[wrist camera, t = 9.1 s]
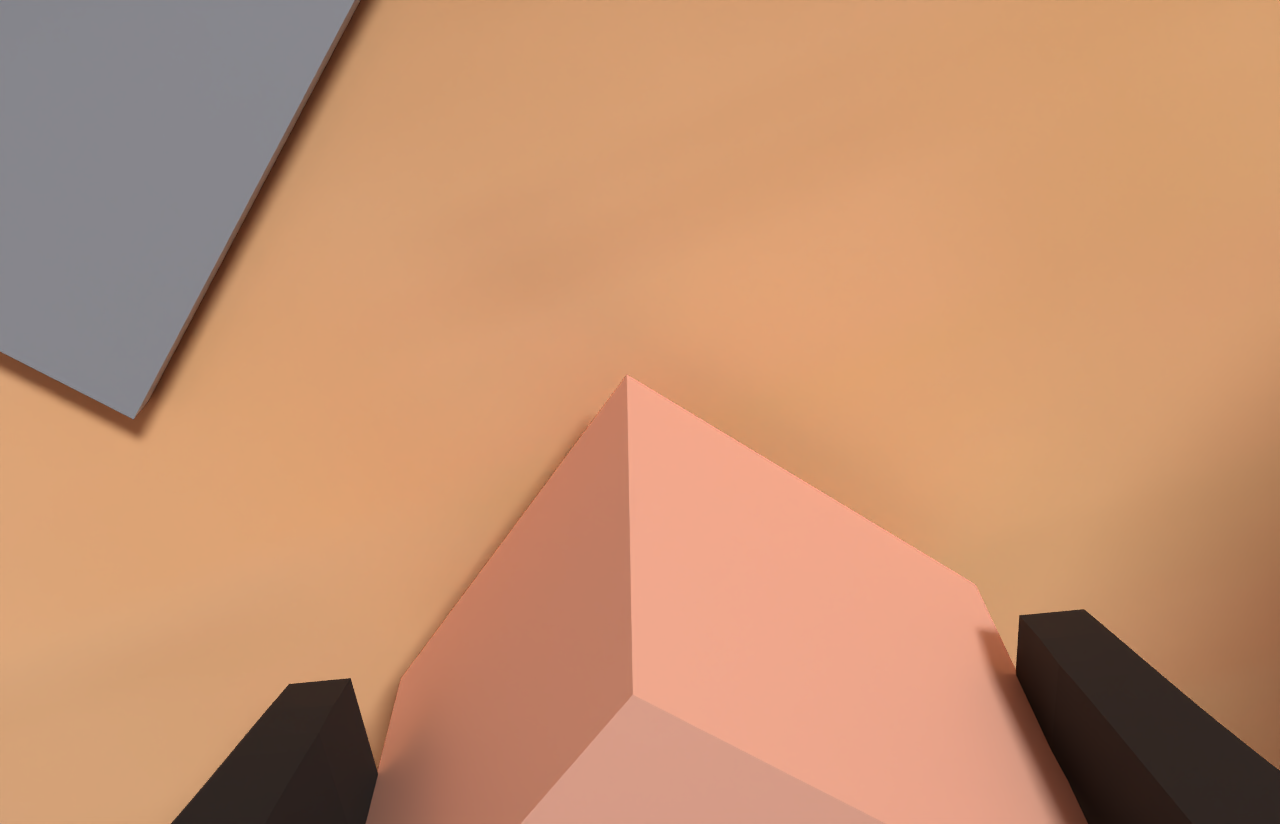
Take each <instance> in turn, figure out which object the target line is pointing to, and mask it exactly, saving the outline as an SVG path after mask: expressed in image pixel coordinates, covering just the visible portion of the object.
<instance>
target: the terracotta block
mask: <svg viewBox="0 0 1280 824" xmlns="http://www.w3.org/2000/svg"><path fill="white" fill-rule="evenodd" d="M366 824H1088V823H1087V821H1086V818H1085V816H1084V814H1083V812H1082V810H1081V808H1080V806H1079V803H1078V801H1077V799H1076V797H1075V795H1074V793H1073V791H1072V789H1071V786H1070V784H1069V782H1068V780H1067V778H1066V776H1065V775H1064V773H1063V771H1062V769H1061V767H1060V765H1059V764H1058V762H1057V760H1056V758H1055V756H1054V755H1053V753H1052V751H1051V749H1050V747H1049V744H1048V742H1047V740H1046V738H1045V736H1044V734H1043V732H1042V729H1041V727H1040V725H1039V723H1038V721H1037V719H1036V717H1035V714H1034V712H1033V710H1032V708H1031V706H1030V704H1029V702H1028V700H1027V697H1026V695H1025V693H1024V691H1023V689H1022V687H1021V685H1020V682H1019V680H1018V678H1017V676H1016V669H1015V667H1014V665H1013V663H1012V661H1011V659H1010V657H1009V654H1008V652H1007V650H1006V648H1005V646H1004V644H1003V642H1002V639H1001V637H1000V635H999V633H998V631H997V629H996V627H995V625H994V622H993V620H992V618H991V616H990V614H989V612H988V610H987V608H986V605H985V603H984V601H983V599H982V597H981V595H980V593H979V591H978V588H977V586H976V584H974V583H972V582H971V581H969V580H967V579H966V578H964V577H962V576H961V575H959V574H957V573H956V572H954V571H952V570H951V569H949V568H947V567H946V566H944V565H942V564H941V563H939V562H937V561H936V560H934V559H932V558H931V557H929V556H927V555H926V554H924V553H922V552H921V551H919V550H918V549H916V548H914V547H913V546H911V545H909V544H908V543H906V542H904V541H903V540H901V539H899V538H898V537H896V536H894V535H893V534H891V533H889V532H888V531H886V530H884V529H883V528H881V527H879V526H878V525H876V524H874V523H873V522H871V521H869V520H868V519H866V518H864V517H863V516H861V515H859V514H858V513H856V512H854V511H853V510H851V509H849V508H848V507H846V506H844V505H843V504H841V503H839V502H838V501H836V500H835V499H833V498H831V497H830V496H828V495H826V494H825V493H823V492H821V491H820V490H818V489H816V488H815V487H813V486H811V485H810V484H808V483H806V482H805V481H803V480H801V479H800V478H798V477H796V476H795V475H793V474H791V473H790V472H788V471H786V470H785V469H783V468H781V467H780V466H778V465H776V464H775V463H773V462H771V461H770V460H768V459H766V458H765V457H763V456H761V455H760V454H758V453H757V452H755V451H753V450H752V449H750V448H748V447H747V446H745V445H743V444H742V443H740V442H738V441H737V440H735V439H733V438H732V437H730V436H728V435H727V434H725V433H723V432H722V431H720V430H718V429H717V428H715V427H713V426H712V425H710V424H708V423H707V422H705V421H703V420H702V419H700V418H698V417H697V416H695V415H693V414H692V413H690V412H688V411H687V410H685V409H683V408H682V407H680V406H678V405H677V404H675V403H674V402H672V401H670V400H669V399H667V398H665V397H664V396H662V395H660V394H659V393H657V392H655V391H654V390H652V389H650V388H649V387H647V386H645V385H644V384H642V383H640V382H639V381H637V380H635V379H634V378H632V377H630V376H629V375H626V376H625V378H624V379H623V380H622V382H621V383H620V384H619V386H618V387H617V388H616V390H615V391H614V392H613V394H612V395H611V396H610V398H609V399H608V400H607V402H606V403H605V404H604V406H603V407H602V408H601V410H600V411H599V413H598V414H597V415H596V417H595V418H594V419H593V421H592V422H591V423H590V425H589V426H588V427H587V429H586V430H585V431H584V433H583V434H582V435H581V437H580V438H579V439H578V441H577V442H576V443H575V445H574V446H573V448H572V449H571V450H570V452H569V453H568V454H567V456H566V457H565V458H564V460H563V461H562V462H561V464H560V465H559V466H558V468H557V469H556V470H555V472H554V473H553V474H552V476H551V477H550V478H549V480H548V481H547V482H546V484H545V485H544V487H543V488H542V489H541V491H540V492H539V493H538V495H537V496H536V497H535V499H534V500H533V501H532V503H531V504H530V505H529V507H528V508H527V509H526V511H525V512H524V513H523V515H522V516H521V517H520V519H519V520H518V521H517V523H516V524H515V526H514V527H513V528H512V530H511V531H510V532H509V534H508V535H507V536H506V538H505V539H504V540H503V542H502V543H501V544H500V546H499V547H498V548H497V550H496V551H495V552H494V554H493V555H492V556H491V558H490V559H489V560H488V562H487V563H486V565H485V566H484V567H483V569H482V570H481V571H480V573H479V574H478V575H477V577H476V578H475V579H474V581H473V582H472V583H471V585H470V586H469V587H468V589H467V590H466V591H465V593H464V594H463V595H462V597H461V598H460V599H459V601H458V602H457V604H456V605H455V606H454V608H453V609H452V610H451V612H450V613H449V614H448V616H447V617H446V618H445V620H444V621H443V622H442V624H441V625H440V626H439V628H438V629H437V630H436V632H435V633H434V634H433V636H432V637H431V638H430V640H429V641H428V643H427V644H426V645H425V647H424V648H423V649H422V651H421V652H420V653H419V655H418V656H417V657H416V659H415V660H414V661H413V663H412V664H411V665H410V667H409V668H408V669H407V671H406V672H405V673H404V675H403V676H402V677H401V680H400V684H399V688H398V692H397V696H396V700H395V704H394V708H393V712H392V716H391V720H390V724H389V728H388V732H387V736H386V740H385V744H384V748H383V752H382V756H381V760H380V764H379V768H378V777H377V781H376V785H375V789H374V793H373V797H372V801H371V805H370V809H369V813H368V817H367V821H366Z"/></svg>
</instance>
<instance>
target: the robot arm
mask: <svg viewBox="0 0 1280 824" xmlns="http://www.w3.org/2000/svg"><path fill="white" fill-rule="evenodd" d="M1016 676H1017V678H1018V680H1019V682H1020V685H1021V687H1022V689H1023V691H1024V693H1025V695H1026V697H1027V700H1028V702H1029V704H1030V706H1031V708H1032V710H1033V712H1034V714H1035V717H1036V719H1037V721H1038V723H1039V725H1040V727H1041V729H1042V732H1043V734H1044V736H1045V738H1046V740H1047V742H1048V744H1049V747H1050V749H1051V751H1052V753H1053V755H1054V756H1055V758H1056V760H1057V762H1058V764H1059V765H1060V767H1061V769H1062V771H1063V773H1064V775H1065V776H1066V778H1067V780H1068V782H1069V784H1070V786H1071V789H1072V791H1073V793H1074V795H1075V797H1076V799H1077V801H1078V803H1079V806H1080V808H1081V810H1082V812H1083V814H1084V816H1085V818H1086V821H1087V823H1088V824H1280V771H1279V770H1278V769H1277V768H1275V767H1274V766H1273V765H1271V764H1270V763H1269V762H1268V761H1266V760H1265V759H1264V758H1263V757H1261V756H1260V755H1259V754H1258V753H1256V752H1255V751H1254V750H1253V749H1251V748H1250V747H1249V746H1247V745H1246V744H1245V743H1244V742H1242V741H1241V740H1240V739H1239V738H1237V737H1236V736H1235V735H1234V734H1232V733H1231V732H1230V731H1229V730H1227V729H1226V728H1225V727H1223V726H1222V725H1221V724H1220V723H1219V722H1217V721H1216V720H1215V719H1214V718H1212V717H1211V716H1210V715H1209V714H1208V713H1206V712H1205V711H1204V710H1203V709H1202V708H1200V707H1199V706H1198V705H1197V704H1195V703H1194V702H1193V701H1192V700H1191V699H1190V698H1188V697H1187V696H1186V695H1185V694H1184V693H1182V692H1181V691H1180V690H1179V689H1178V688H1176V687H1175V686H1174V685H1173V684H1172V683H1170V682H1169V681H1168V680H1167V679H1166V678H1164V677H1163V676H1162V675H1161V674H1160V673H1159V672H1157V671H1156V670H1155V669H1154V668H1153V667H1152V666H1150V665H1149V664H1148V663H1147V662H1146V661H1144V660H1143V659H1142V658H1141V657H1140V656H1139V655H1137V654H1136V653H1135V652H1134V651H1133V650H1132V649H1130V648H1129V647H1128V646H1127V645H1126V644H1125V643H1123V642H1122V641H1121V640H1120V639H1119V638H1117V637H1116V636H1115V635H1114V634H1113V633H1112V632H1110V631H1109V630H1108V629H1107V628H1106V627H1104V626H1103V625H1102V624H1101V623H1100V622H1099V621H1097V620H1096V619H1095V618H1094V617H1093V616H1091V615H1090V614H1089V613H1088V612H1087V611H1085V610H1084V609H1083V610H1072V611H1062V612H1051V613H1040V614H1030V615H1019V631H1018V646H1017V662H1016ZM377 777H378V772H377V769H376V765H375V762H374V758H373V755H372V751H371V748H370V744H369V741H368V737H367V734H366V730H365V727H364V723H363V720H362V716H361V713H360V709H359V706H358V703H357V699H356V696H355V692H354V689H353V685H352V682H351V678H349V679H338V680H328V681H317V682H306V683H296V684H289V685H288V686H287V687H286V688H285V690H284V691H283V692H282V693H281V694H280V695H279V697H278V698H277V699H276V700H275V701H274V702H273V703H272V705H271V706H270V707H269V708H268V709H267V710H266V712H265V713H264V714H263V715H262V716H261V717H260V719H259V720H258V721H257V722H256V723H255V725H254V726H253V727H252V728H251V729H250V731H249V732H248V733H247V734H246V735H245V737H244V738H243V739H242V740H241V741H240V743H239V744H238V745H237V746H236V747H235V749H234V750H233V751H232V752H231V753H230V755H229V756H228V757H227V758H226V760H225V761H224V762H223V763H222V764H221V765H220V767H219V768H218V769H217V770H216V771H215V773H214V774H213V775H212V776H211V777H210V779H209V780H208V781H207V782H206V783H205V785H204V786H203V787H202V788H201V789H200V791H199V792H198V793H197V794H196V795H195V797H194V798H193V799H192V800H191V801H190V802H189V803H188V805H187V806H186V807H185V808H184V809H183V810H182V812H181V813H180V814H179V815H178V816H177V817H176V818H175V820H174V821H173V822H172V823H171V824H366V821H367V817H368V813H369V809H370V805H371V801H372V797H373V793H374V789H375V785H376V781H377Z"/></svg>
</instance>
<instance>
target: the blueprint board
mask: <svg viewBox="0 0 1280 824" xmlns="http://www.w3.org/2000/svg"><path fill="white" fill-rule="evenodd" d="M359 2H360V0H0V352H2V353H4V354H6V355H8V356H10V357H12V358H14V359H16V360H18V361H20V362H22V363H24V364H26V365H27V366H29V367H31V368H33V369H35V370H37V371H39V372H41V373H43V374H45V375H47V376H49V377H51V378H53V379H55V380H57V381H59V382H61V383H63V384H65V385H67V386H69V387H71V388H73V389H75V390H77V391H79V392H81V393H83V394H85V395H87V396H89V397H90V398H92V399H94V400H96V401H98V402H100V403H102V404H104V405H106V406H108V407H110V408H112V409H114V410H116V411H118V412H120V413H122V414H124V415H126V416H128V417H130V418H132V419H134V418H135V417H136V416H137V415H138V413H139V412H140V411H141V410H142V408H143V407H144V406H145V405H146V403H147V402H148V401H149V399H150V397H151V395H152V393H153V391H154V389H155V387H156V386H157V384H158V382H159V380H160V378H161V376H162V374H163V372H164V370H165V369H166V367H167V365H168V363H169V361H170V359H171V357H172V355H173V353H174V352H175V350H176V348H177V346H178V344H179V342H180V340H181V338H182V336H183V335H184V333H185V331H186V329H187V327H188V325H189V323H190V321H191V319H192V318H193V316H194V314H195V312H196V310H197V308H198V306H199V304H200V302H201V301H202V299H203V297H204V295H205V293H206V291H207V289H208V287H209V285H210V284H211V282H212V280H213V278H214V276H215V274H216V272H217V270H218V268H219V267H220V265H221V263H222V261H223V259H224V257H225V255H226V253H227V251H228V250H229V248H230V246H231V244H232V242H233V240H234V238H235V236H236V234H237V233H238V231H239V229H240V227H241V225H242V223H243V221H244V219H245V217H246V216H247V214H248V212H249V210H250V208H251V206H252V204H253V202H254V200H255V199H256V197H257V195H258V193H259V191H260V189H261V187H262V185H263V183H264V182H265V180H266V178H267V176H268V174H269V172H270V170H271V168H272V166H273V165H274V163H275V161H276V159H277V157H278V155H279V153H280V151H281V149H282V148H283V146H284V144H285V142H286V140H287V138H288V136H289V134H290V132H291V131H292V129H293V127H294V125H295V123H296V121H297V119H298V117H299V115H300V114H301V112H302V110H303V108H304V106H305V104H306V102H307V100H308V98H309V97H310V95H311V93H312V91H313V89H314V87H315V85H316V83H317V81H318V80H319V78H320V76H321V74H322V72H323V70H324V68H325V66H326V64H327V63H328V61H329V59H330V57H331V55H332V53H333V51H334V49H335V47H336V46H337V44H338V42H339V40H340V38H341V36H342V34H343V32H344V30H345V29H346V27H347V25H348V23H349V21H350V19H351V17H352V15H353V13H354V12H355V10H356V8H357V6H358V4H359Z"/></svg>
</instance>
